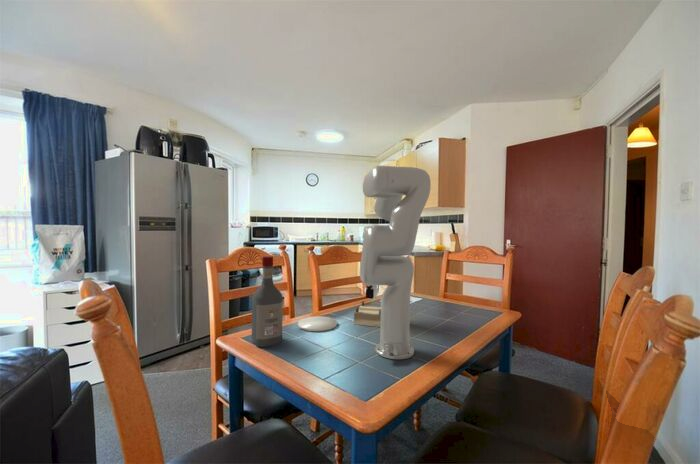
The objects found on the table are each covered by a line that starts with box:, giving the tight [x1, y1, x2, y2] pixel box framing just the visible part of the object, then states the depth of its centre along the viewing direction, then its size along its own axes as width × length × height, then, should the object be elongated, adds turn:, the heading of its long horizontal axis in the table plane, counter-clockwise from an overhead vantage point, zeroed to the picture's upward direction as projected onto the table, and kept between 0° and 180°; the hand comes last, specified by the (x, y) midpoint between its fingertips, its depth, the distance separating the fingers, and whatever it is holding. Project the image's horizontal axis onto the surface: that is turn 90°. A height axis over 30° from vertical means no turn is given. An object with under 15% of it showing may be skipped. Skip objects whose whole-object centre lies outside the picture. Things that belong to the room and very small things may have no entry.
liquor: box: [251, 255, 284, 348], centre depth 105 cm, size 9×9×30 cm
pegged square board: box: [353, 300, 381, 328], centre depth 129 cm, size 12×12×7 cm
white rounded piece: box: [364, 285, 379, 300], centre depth 129 cm, size 6×6×7 cm
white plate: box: [297, 315, 338, 332], centre depth 123 cm, size 16×16×1 cm
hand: (371, 296), depth 129 cm, fingers closed on white rounded piece, 6 cm apart
